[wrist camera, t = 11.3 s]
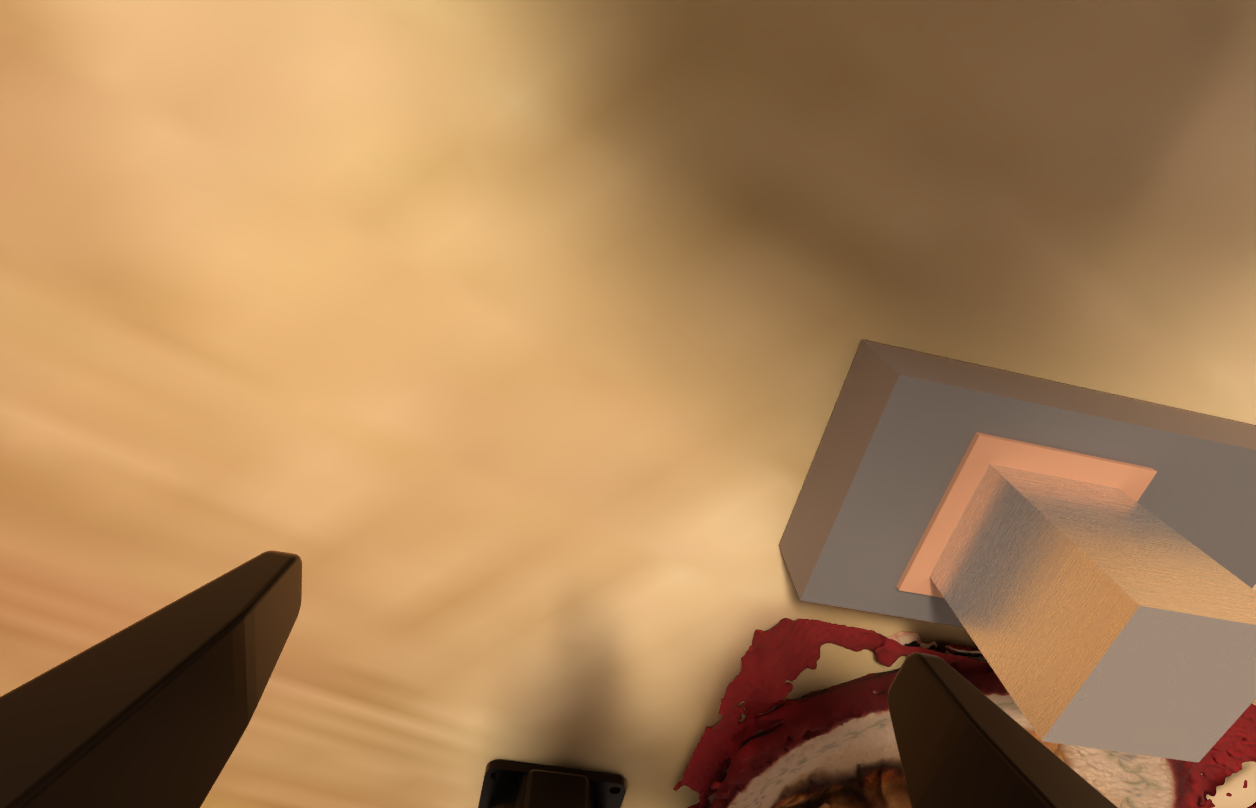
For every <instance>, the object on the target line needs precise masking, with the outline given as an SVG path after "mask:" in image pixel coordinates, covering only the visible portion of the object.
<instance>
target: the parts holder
mask: <svg viewBox="0 0 1256 808" xmlns="http://www.w3.org/2000/svg"><path fill="white" fill-rule="evenodd" d="M989 464H993V465H998V466H1003V467H1008V468H1014V469H1019V470H1024V471H1030V472H1035V473H1040V474H1045V475H1051V476H1056V477H1061V478H1066V479H1072V480H1077V481H1082V482H1088V483H1093V484H1098V485H1103V486H1109V487H1114V488H1119V489H1120V490H1121V491H1123V492H1124V493H1125V494H1127V495H1128V496H1129V497H1131V498H1132V499H1133V500H1135V501H1136V502H1137V503H1139V504H1140V505H1141V506H1143V507H1144V508H1145V509H1147V510H1148V511H1149V512H1151V513H1152V514H1153V515H1155V516H1156V517H1157V518H1159V519H1160V520H1161V521H1163V522H1164V523H1165V524H1167V525H1168V526H1169V527H1171V528H1172V529H1173V530H1175V531H1176V532H1177V533H1179V534H1180V535H1181V536H1183V537H1184V538H1185V539H1187V540H1188V541H1189V542H1191V543H1192V544H1193V545H1195V546H1196V547H1197V548H1199V549H1200V550H1201V551H1203V552H1204V553H1205V554H1207V555H1208V556H1209V557H1211V558H1212V559H1213V560H1215V561H1216V562H1217V563H1219V564H1220V565H1221V566H1223V567H1224V568H1225V569H1227V570H1228V571H1229V572H1231V573H1232V574H1233V575H1235V576H1236V577H1237V578H1239V579H1240V580H1241V581H1243V582H1244V583H1245V584H1247V585H1248V586H1249V587H1251V588H1253V586H1254V585H1255V584H1256V425H1252V424H1247V423H1243V422H1238V421H1233V420H1229V419H1224V418H1220V417H1215V416H1211V415H1206V414H1201V413H1197V412H1192V411H1188V410H1183V409H1178V408H1174V407H1169V406H1165V405H1160V404H1155V403H1151V402H1146V401H1142V400H1137V399H1133V398H1128V397H1123V396H1119V395H1114V394H1110V393H1105V392H1100V391H1096V390H1091V389H1087V388H1082V387H1077V386H1073V385H1068V384H1064V383H1059V382H1055V381H1050V380H1045V379H1041V378H1036V377H1032V376H1027V375H1022V374H1018V373H1013V372H1009V371H1004V370H1000V369H995V368H990V367H986V366H981V365H977V364H972V363H967V362H963V361H958V360H954V359H949V358H944V357H940V356H935V355H931V354H926V353H922V352H917V351H912V350H908V349H903V348H899V347H894V346H889V345H885V344H880V343H876V342H871V341H866V340H861V343H860V345H859V348H858V350H857V353H856V355H855V358H854V360H853V363H852V365H851V368H850V370H849V372H848V375H847V377H846V380H845V382H844V385H843V387H842V390H841V392H840V395H839V397H838V400H837V402H836V405H835V407H834V410H833V412H832V415H831V417H830V420H829V422H828V424H827V427H826V429H825V432H824V434H823V437H822V439H821V442H820V444H819V447H818V449H817V452H816V454H815V457H814V459H813V462H812V464H811V467H810V469H809V471H808V474H807V476H806V479H805V481H804V484H803V486H802V489H801V491H800V494H799V496H798V499H797V501H796V504H795V506H794V509H793V511H792V514H791V516H790V519H789V521H788V523H787V526H786V528H785V531H784V533H783V536H782V538H781V541H780V543H779V547H780V550H781V552H782V555H783V558H784V560H785V563H786V565H787V568H788V571H789V573H790V576H791V578H792V581H793V584H794V586H795V589H796V591H797V594H798V597H799V599H800V601H806V602H812V603H818V604H824V605H830V606H836V607H842V608H848V609H855V610H861V611H867V612H873V613H879V614H885V615H891V616H897V617H903V618H909V619H915V620H922V621H928V622H934V623H940V624H946V625H952V626H958V627H964V626H963V625H962V623H961V622H960V621H959V619H958V618H957V616H956V615H955V613H954V612H953V610H952V609H951V607H950V606H949V604H948V603H947V601H946V600H945V598H944V597H943V596H942V594H941V593H940V591H939V590H938V588H937V587H936V585H935V584H934V582H933V581H932V579H931V578H930V575H931V573H932V571H933V569H934V567H935V565H936V563H937V562H938V560H939V558H940V556H941V554H942V552H943V550H944V548H945V546H946V545H947V543H948V541H949V539H950V537H951V535H952V533H953V531H954V530H955V528H956V526H957V524H958V522H959V520H960V518H961V516H962V514H963V513H964V511H965V509H966V507H967V505H968V503H969V501H970V499H971V497H972V496H973V494H974V492H975V490H976V488H977V486H978V484H979V482H980V480H981V479H982V477H983V475H984V473H985V471H986V469H987V467H988V465H989Z"/></svg>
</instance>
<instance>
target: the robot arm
mask: <svg viewBox="0 0 1256 808" xmlns="http://www.w3.org/2000/svg"><path fill="white" fill-rule="evenodd" d="M301 594H302V561H301V558H300V557H299V556H298V555H296V554H292V553H285V552H279V551H267V552H264V553H262V554H260V555H258V556H257V557H255V558H253V559H251V560H249V561H247V562H246V563H244V564H242V565H240V566H238V567H237V568H235V569H233V570H231V571H229V572H227V573H226V574H224V575H222V576H220V577H218V578H216V579H215V580H213V581H211V582H209V583H207V584H206V585H204V586H202V587H200V588H198V589H196V590H195V591H193V592H191V593H189V594H187V595H185V596H184V597H182V598H180V599H178V600H176V601H175V602H173V603H171V604H169V605H167V606H165V607H164V608H162V609H160V610H158V611H156V612H154V613H153V614H151V615H149V616H147V617H145V618H144V619H142V620H140V621H138V622H136V623H134V624H133V625H131V626H129V627H127V628H125V629H123V630H122V631H120V632H118V633H116V634H114V635H113V636H111V637H109V638H107V639H105V640H103V641H102V642H100V643H98V644H96V645H94V646H92V647H91V648H89V649H87V650H85V651H83V652H82V653H80V654H78V655H76V656H74V657H72V658H71V659H69V660H67V661H65V662H63V663H61V664H60V665H58V666H56V667H54V668H52V669H51V670H49V671H47V672H45V673H43V674H41V675H40V676H38V677H36V678H34V679H32V680H30V681H29V682H27V683H25V684H23V685H21V686H20V687H18V688H16V689H14V690H12V691H10V692H9V693H7V694H5V695H3V696H1V697H0V808H200V807H201V805H202V803H203V802H204V800H205V798H206V796H207V795H208V793H209V791H210V790H211V788H212V786H213V785H214V783H215V781H216V779H217V778H218V776H219V774H220V773H221V771H222V769H223V768H224V766H225V764H226V762H227V761H228V759H229V757H230V756H231V754H232V752H233V751H234V749H235V747H236V745H237V744H238V742H239V740H240V738H241V737H242V735H243V733H244V731H245V729H246V727H247V726H248V724H249V722H250V720H251V717H252V715H253V713H254V711H255V709H256V707H257V705H258V703H259V700H260V698H261V696H262V694H263V692H264V689H265V687H266V685H267V683H268V681H269V678H270V676H271V674H272V672H273V670H274V667H275V665H276V663H277V661H278V659H279V656H280V654H281V652H282V650H283V647H284V645H285V643H286V641H287V639H288V636H289V634H290V632H291V630H292V628H293V625H294V623H295V621H296V619H297V616H298V613H299V610H300V606H301ZM887 699H888V708H889V713H890V717H891V721H892V726H893V730H894V734H895V739H896V743H897V747H898V752H899V756H900V760H901V765H902V769H903V773H904V778H905V782H906V786H907V791H908V794H909V798H910V802H911V806H912V808H1118V807H1117V806H1115V805H1114V804H1113V803H1112V802H1111V801H1109V800H1108V799H1107V798H1106V797H1105V796H1104V795H1102V794H1101V793H1100V792H1099V791H1098V790H1096V789H1095V788H1094V787H1093V786H1092V785H1091V784H1089V783H1088V782H1087V781H1086V780H1085V779H1083V778H1082V777H1081V776H1080V775H1079V774H1078V773H1076V772H1075V771H1074V770H1073V769H1072V768H1070V767H1069V766H1068V765H1067V764H1066V763H1065V762H1063V761H1062V760H1061V759H1060V758H1059V757H1057V756H1056V755H1055V754H1054V753H1053V752H1052V751H1050V750H1049V749H1048V748H1047V747H1046V746H1044V745H1043V744H1042V743H1041V742H1040V741H1039V740H1037V739H1036V738H1035V737H1034V736H1033V735H1031V734H1030V733H1029V732H1028V731H1027V730H1026V729H1024V728H1023V727H1022V726H1021V725H1020V724H1018V723H1017V722H1016V721H1015V720H1014V719H1013V718H1011V717H1010V716H1009V715H1008V714H1007V713H1005V712H1004V711H1003V710H1002V709H1001V708H1000V707H998V706H997V705H996V704H995V703H994V702H993V701H991V700H990V699H989V698H988V697H987V696H985V695H984V694H983V693H982V692H981V691H980V690H978V689H977V688H976V687H975V686H974V685H972V684H971V683H970V682H969V681H968V680H967V679H965V678H964V677H963V676H962V675H961V674H959V673H958V672H957V671H956V670H955V669H954V668H952V667H951V666H950V665H949V664H948V663H946V662H945V661H944V660H943V659H942V658H940V657H938V656H935V655H929V654H923V653H911V654H910V655H908V656H907V658H906V659H905V661H904V663H903V664H902V666H901V668H900V670H899V672H898V673H897V675H896V677H895V679H894V681H893V682H892V684H891V686H890V688H889V691H888V698H887ZM625 790H626V788H625V779H624V778H623V777H621V776H618V775H612V774H604V773H596V772H588V771H580V770H572V769H564V768H556V767H548V766H540V765H532V764H524V763H516V762H508V761H500V760H494V761H491V762H489V763H488V764H487V766H486V771H485V776H484V781H483V786H482V791H481V796H480V801H479V806H478V808H620V806H621V803H622V800H623V797H624V794H625Z"/></svg>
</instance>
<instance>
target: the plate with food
mask: <svg viewBox="0 0 1256 808" xmlns="http://www.w3.org/2000/svg"><path fill="white" fill-rule="evenodd" d="M825 643H833V644H837V645H840V646H843V647H845V648H847V649H851V650H853V651H856V652H858V651H861V650H863V649H869V650H872V651H874V652H875V653H876V658H877V661H878V662H879V663H881V664H883V665H885V666H887V667H890V666H891V665H892V664H893V663H894V662H895V661H896V660H897V659H898V658H899V657H900V656H908V655H910V654H911V653H923V654H929V655H935V656H938V657H940V658H942V659H943V660H944V661H945V662H946V663H948V664H949V665H950V666H951V667H952V668H954V669H955V670H956V671H957V672H958V673H959V674H961V675H962V676H963V677H964V678H965V679H967V680H968V681H969V682H970V683H971V684H972V685H974V686H975V687H976V688H977V689H978V690H980V691H981V692H982V693H983V694H984V695H985V696H987V697H988V698H989V699H990V700H991V701H993V702H994V703H995V704H996V705H997V706H998V707H1000V708H1001V709H1002V710H1003V711H1004V712H1005V713H1007V714H1008V715H1009V716H1010V717H1011V718H1013V719H1014V720H1015V721H1016V722H1017V723H1018V724H1020V725H1021V726H1022V727H1023V728H1024V729H1026V730H1027V731H1028V732H1029V733H1030V734H1031V735H1033V736H1034V737H1035V738H1036V739H1037V740H1039V741H1040V742H1041V743H1042V744H1043V745H1044V746H1046V747H1047V748H1048V749H1049V750H1050V751H1052V752H1053V753H1054V754H1055V755H1056V756H1057V757H1059V758H1060V759H1061V760H1062V761H1063V762H1065V763H1066V764H1067V765H1068V766H1069V767H1070V768H1072V769H1073V770H1074V771H1075V772H1076V773H1078V774H1079V775H1080V776H1081V777H1082V778H1083V779H1085V780H1086V781H1087V782H1088V783H1089V784H1091V785H1092V786H1093V787H1094V788H1095V789H1096V790H1098V791H1099V792H1100V793H1101V794H1102V795H1104V796H1105V797H1106V798H1107V799H1108V800H1109V801H1111V802H1112V803H1113V804H1114V805H1115V806H1117V807H1118V808H1212V807H1215V805H1214V804H1213V803H1212V801H1211V799H1209V800H1207V798H1206V794H1209V795H1210V796H1215V794H1216V787H1217V786H1219V785H1223V784H1224V782H1225V778H1226V777H1228V776H1231V774H1232V773H1237V772H1238V771H1239V770H1241V769H1242V766H1241V764H1242V763H1244V762H1248V761H1255V762H1256V706H1255V705H1253V704H1252V703H1251V705H1250V706H1249V707H1248V708H1247V709H1246V710H1245V711H1244V712H1243V713H1242V715H1241V716H1240V717H1239V718H1238V719H1237V720H1236V721H1235V722H1234V724H1233V725H1232V726H1231V727H1230V728H1229V729H1228V730H1227V731H1226V732H1225V734H1224V735H1223V736H1222V737H1221V738H1220V739H1219V740H1218V741H1217V742H1216V744H1215V745H1214V746H1213V747H1212V748H1211V749H1210V750H1209V751H1208V753H1207V754H1206V755H1205V756H1204V757H1203V758H1202V759H1201V760H1200V761H1199V763H1198V762H1191V761H1183V760H1176V759H1169V758H1161V757H1154V756H1147V755H1139V754H1132V753H1125V752H1117V751H1110V750H1103V749H1095V748H1088V747H1081V746H1073V745H1066V744H1059V743H1051V742H1044V741H1041V740H1040V738H1039V737H1038V735H1037V734H1036V732H1035V731H1034V729H1033V728H1032V726H1031V725H1030V724H1029V722H1028V721H1027V719H1026V718H1025V716H1024V715H1023V713H1022V712H1021V710H1020V709H1019V707H1018V706H1017V704H1016V703H1015V701H1014V700H1013V699H1012V697H1011V696H1010V694H1009V693H1008V691H1007V690H1006V688H1005V687H1004V685H1003V684H1002V682H1001V681H1000V679H999V678H998V676H997V675H996V673H995V672H994V671H993V669H992V668H991V666H990V665H989V663H988V662H982V661H979V660H974V659H971V658H968V657H983V654H982V653H981V651H980V650H979V649H975V648H972V647H962V646H960V645H949V646H945V648H946V649H947V651H946V652H945V653H941V652H937V651H935V649H936V648H937V647H938V646H937V644H936V642H935V641H931V642H930V643H927V644H926V643H922V642H921V641H920V639H919V634H918V633H915V632H897V633H895V634H894V635H892V636H889V637H885V636H883V635H881V634H878V633H876V632H875V631H872V630H865V629H861V628H855V627H847V626H845V625H837V624H831V623H828V622H822V621H820V620H808V619H797V620H796V621H793V620H790V619H787V618H784V619H782V620H780V622H779V623H778V624H777V625H776V626H774V627H773V628H771V629H770V630H767V631H762V630H756V631H755V633H754V637H753V642H752V646H750V648H749V650H748V651H747V652H746V654H745V655H744V656H743V657H742V658H741V661H742V667H741V671H740V673H739V675H738V676H737V677H735V679H734V680H733V681H732V682H731V683H729V685H728V687H727V689H726V693H725V695H724V697H723V698H722V699H721V704H720V709H719V712H718V714H719V715H722V714H723V717H722V719H721V721H720V722H719V723H718V724H717V725H716V726H714V727H713V728H708V727H706V728H705V732H704V734H703V736H702V737H701V740H700V742H699V743H698V745H697V747H696V748H695V751H694V752H693V755H692V758H691V760H690V762H689V765H688V766H687V768H686V771H685V773H684V776H683V779H682V781H680V782H679V783H678V784H677V785H676V786H675V788H674V789H673V790H675V791H676V790H678V789H679V788H680V787H681V786H683V785H686V786H688V787H689V788H691V789H692V790H694V791H697V792H698V793H699V794H700V796H699V800H700V802H699V803H698V804H696V805H694V806H690V807H688V808H912V806H911V802H910V798H909V794H908V791H907V786H906V782H905V778H904V773H903V769H902V765H901V760H900V756H899V752H898V747H897V743H896V739H895V734H894V730H893V726H892V721H891V717H890V713H889V708H888V699H887V698H888V691H889V688H890V686H891V684H892V682H893V681H894V679H895V677H896V675H897V673H898V672H899V670H895V671H888V672H882V673H872V674H868V675H866V676H863V677H861V678H858V679H854V680H851V681H849V682H845V683H842V684H838V685H835V686H831V687H829V688H826V689H823V690H820V691H815V692H812V693H809V694H807V695H805V696H802V697H801V698H798V699H786V700H783V699H785V697H786V696H787V695H788V693H789V692H791V691H792V689H793V685H792V684H791V683H789V682H787V683H786V682H785V681H786V680H790V681H793V680H795V679H796V678H797V677H798V675H799V674H800V673H801V672H802V671H803V670H805V669H806V668H810V669H813V670H814V669H816V667H817V660H818V659H819V658H820V647H821V645H823V644H825ZM959 655H960V656H959ZM965 656H966V657H965ZM743 701H745V702H744V703H743V704H742V707H743V708H745V711H744V709H743V708H742V707H740V706H738V704H739V703H741V702H743ZM743 713H744V715H746V717H745V719H744V720H743V721H742V722H739V719H741V718H742V717H741V714H743ZM1200 773H1202V774H1203V775H1201V774H1200ZM1243 788H1247V781H1246V780H1245V782H1244V786H1243ZM1226 795H1227V796H1231V795H1232V794H1230V793H1227V794H1226ZM1248 808H1256V802H1255V803H1254V804H1253V805H1252V806H1249V807H1248Z"/></svg>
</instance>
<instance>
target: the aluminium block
mask: <svg viewBox="0 0 1256 808" xmlns="http://www.w3.org/2000/svg"><path fill="white" fill-rule="evenodd" d="M930 578H931V579H932V581H933V582H934V584H935V585H936V587H937V588H938V590H939V591H940V593H941V594H942V596H943V597H944V598H945V600H946V601H947V603H948V604H949V606H950V607H951V609H952V610H953V612H954V613H955V615H956V616H957V618H958V619H959V621H960V622H961V623H962V625H963V626H964V628H965V629H966V631H967V632H968V634H969V635H970V637H971V638H972V640H973V641H974V643H975V644H976V646H977V647H978V648H979V650H980V651H981V653H982V654H983V656H984V657H985V659H986V660H987V662H988V663H989V665H990V666H991V668H992V669H993V671H994V672H995V673H996V675H997V676H998V678H999V679H1000V681H1001V682H1002V684H1003V685H1004V687H1005V688H1006V690H1007V691H1008V693H1009V694H1010V696H1011V697H1012V699H1013V700H1014V701H1015V703H1016V704H1017V706H1018V707H1019V709H1020V710H1021V712H1022V713H1023V715H1024V716H1025V718H1026V719H1027V721H1028V722H1029V724H1030V725H1031V726H1032V728H1033V729H1034V731H1035V732H1036V734H1037V735H1038V737H1039V738H1040V740H1041V741H1044V742H1051V743H1059V744H1066V745H1073V746H1081V747H1088V748H1095V749H1103V750H1110V751H1117V752H1125V753H1132V754H1139V755H1147V756H1154V757H1161V758H1169V759H1176V760H1183V761H1191V762H1198V763H1199V761H1200V760H1201V759H1202V758H1203V757H1204V756H1205V755H1206V754H1207V753H1208V751H1209V750H1210V749H1211V748H1212V747H1213V746H1214V745H1215V744H1216V742H1217V741H1218V740H1219V739H1220V738H1221V737H1222V736H1223V735H1224V734H1225V732H1226V731H1227V730H1228V729H1229V728H1230V727H1231V726H1232V725H1233V724H1234V722H1235V721H1236V720H1237V719H1238V718H1239V717H1240V716H1241V715H1242V713H1243V712H1244V711H1245V710H1246V709H1247V708H1248V707H1249V706H1250V705H1251V703H1252V702H1253V701H1254V700H1255V699H1256V591H1255V590H1253V589H1252V588H1251V587H1249V586H1248V585H1247V584H1245V583H1244V582H1243V581H1241V580H1240V579H1239V578H1237V577H1236V576H1235V575H1233V574H1232V573H1231V572H1229V571H1228V570H1227V569H1225V568H1224V567H1223V566H1221V565H1220V564H1219V563H1217V562H1216V561H1215V560H1213V559H1212V558H1211V557H1209V556H1208V555H1207V554H1205V553H1204V552H1203V551H1201V550H1200V549H1199V548H1197V547H1196V546H1195V545H1193V544H1192V543H1191V542H1189V541H1188V540H1187V539H1185V538H1184V537H1183V536H1181V535H1180V534H1179V533H1177V532H1176V531H1175V530H1173V529H1172V528H1171V527H1169V526H1168V525H1167V524H1165V523H1164V522H1163V521H1161V520H1160V519H1159V518H1157V517H1156V516H1155V515H1153V514H1152V513H1151V512H1149V511H1148V510H1147V509H1145V508H1144V507H1143V506H1141V505H1140V504H1139V503H1137V502H1136V501H1135V500H1133V499H1132V498H1131V497H1129V496H1128V495H1127V494H1125V493H1124V492H1123V491H1121V490H1120V489H1119V488H1114V487H1109V486H1103V485H1098V484H1093V483H1088V482H1082V481H1077V480H1072V479H1066V478H1061V477H1056V476H1051V475H1045V474H1040V473H1035V472H1030V471H1024V470H1019V469H1014V468H1008V467H1003V466H998V465H993V464H989V465H988V467H987V469H986V471H985V473H984V475H983V477H982V479H981V480H980V482H979V484H978V486H977V488H976V490H975V492H974V494H973V496H972V497H971V499H970V501H969V503H968V505H967V507H966V509H965V511H964V513H963V514H962V516H961V518H960V520H959V522H958V524H957V526H956V528H955V530H954V531H953V533H952V535H951V537H950V539H949V541H948V543H947V545H946V546H945V548H944V550H943V552H942V554H941V556H940V558H939V560H938V562H937V563H936V565H935V567H934V569H933V571H932V573H931V575H930Z"/></svg>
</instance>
